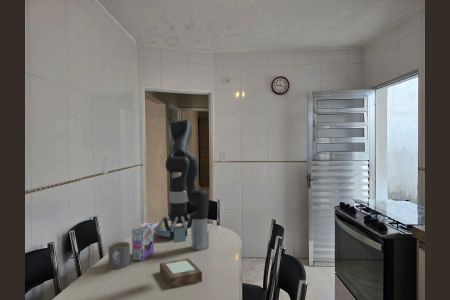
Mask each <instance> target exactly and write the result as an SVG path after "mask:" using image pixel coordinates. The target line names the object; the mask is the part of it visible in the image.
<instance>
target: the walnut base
mask: <svg viewBox="0 0 450 300" xmlns="http://www.w3.org/2000/svg"><path fill="white" fill-rule="evenodd" d="M159 273H160V274H161V275H162V277H163V279H164V280H165V281H166V283H167V284H168V286H169V288H175V287H179V286H180V287H181V286H184V285H185V286H186V285H189V284H194V283H199V282H202V281H203V271H201V269H200V268H199V267H198V266H197V265H196V264H195V263H194V262H192V260H191V259H190V258H184V259H183V258H181V259H176V260H172V261H171V260H169V261H165V262H160V263H159Z"/></svg>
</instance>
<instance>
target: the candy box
mask: <svg viewBox="0 0 450 300" xmlns="http://www.w3.org/2000/svg"><path fill="white" fill-rule="evenodd" d="M153 225H154V222H153V223H152V222H151V223H150V222H142V224H140V225H138V226H136V227H135V228H132V231H131V232H132V233H131V239H132V240H131V241H132V244H131V245H132V247H131V248H132V250H131V251H132V252H131V253H132V255H131V256H132V257H131V258H132V259H131V261H137V262H144V260H146V259H147V258H148V257H150V256H151V255H152V254H153V253H155V250H154V246H155V245H154V229H153Z"/></svg>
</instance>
